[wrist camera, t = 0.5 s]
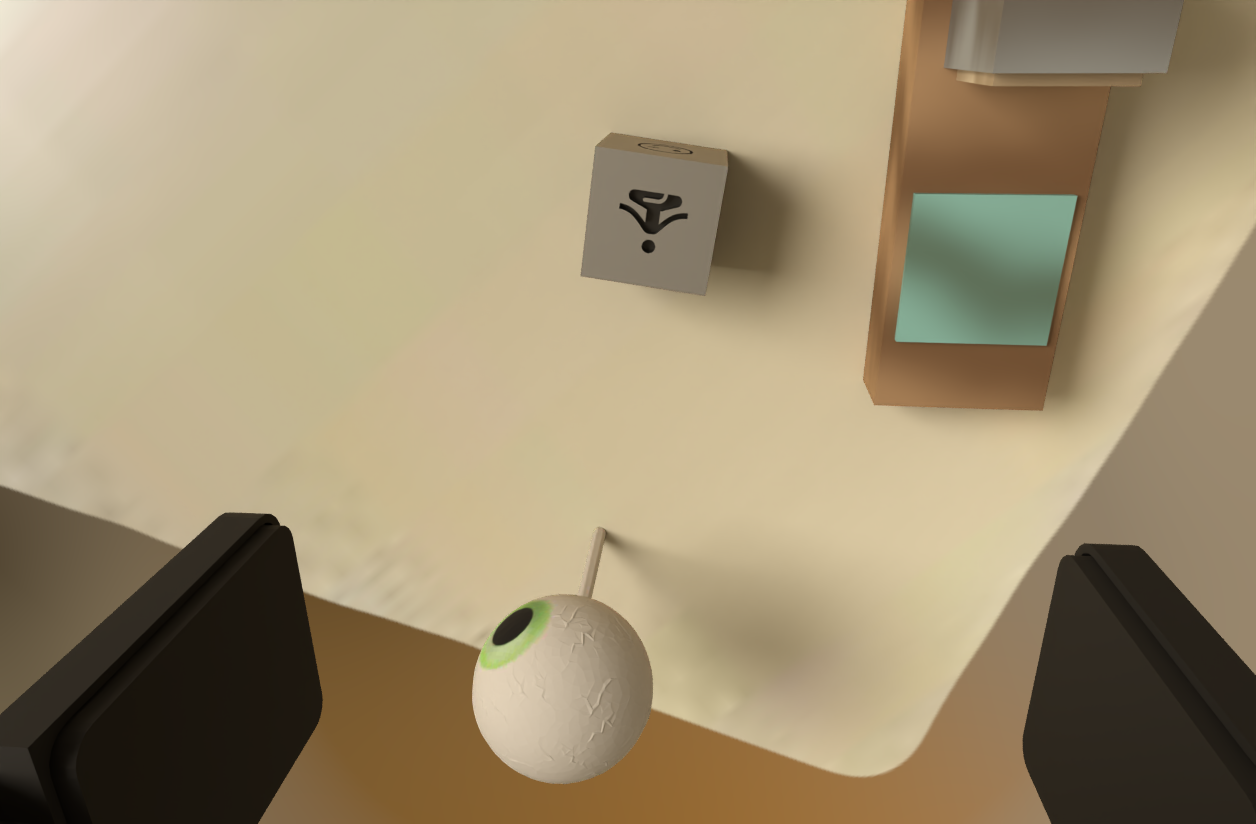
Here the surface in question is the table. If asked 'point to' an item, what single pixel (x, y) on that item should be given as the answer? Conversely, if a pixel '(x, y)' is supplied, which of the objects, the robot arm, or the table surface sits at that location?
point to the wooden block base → (994, 188)
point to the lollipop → (563, 684)
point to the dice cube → (653, 213)
